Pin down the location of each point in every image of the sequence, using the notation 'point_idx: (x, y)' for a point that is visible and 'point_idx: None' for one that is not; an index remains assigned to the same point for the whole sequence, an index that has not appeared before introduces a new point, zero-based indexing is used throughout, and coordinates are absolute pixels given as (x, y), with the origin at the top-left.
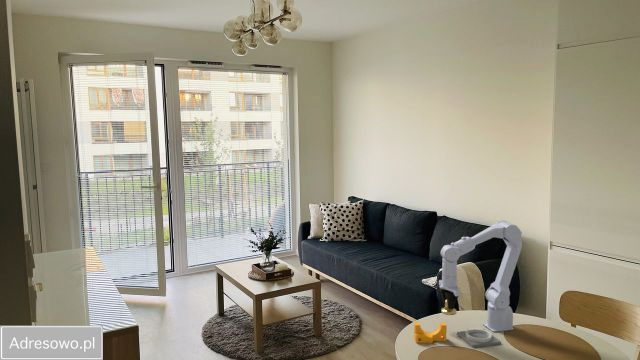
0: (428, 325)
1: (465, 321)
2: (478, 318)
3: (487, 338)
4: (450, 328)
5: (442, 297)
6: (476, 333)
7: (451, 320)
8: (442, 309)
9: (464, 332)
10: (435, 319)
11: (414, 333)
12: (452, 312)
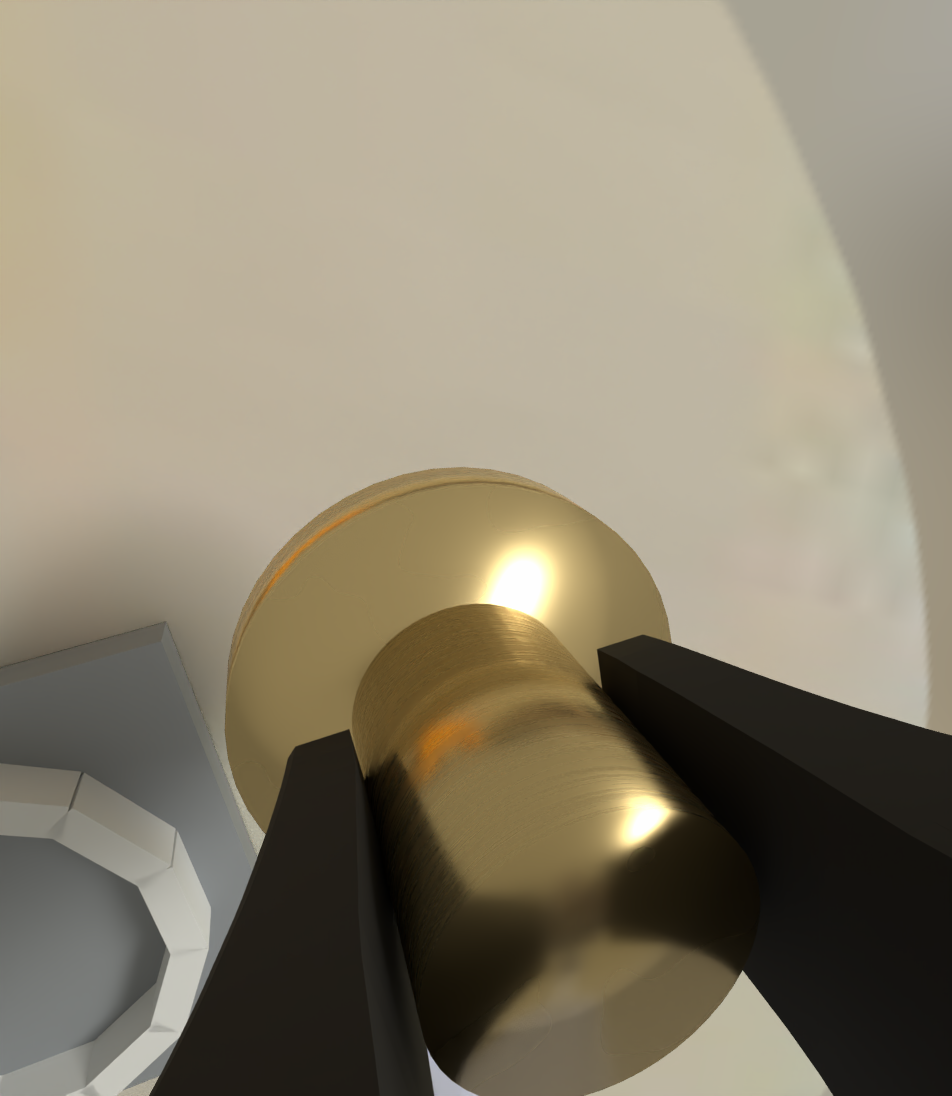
0: (561, 193)
1: None
2: None
3: None
4: None
5: (916, 742)
6: (118, 924)
7: (694, 629)
8: (512, 527)
9: (145, 760)
10: (769, 396)
11: None
12: (247, 789)
